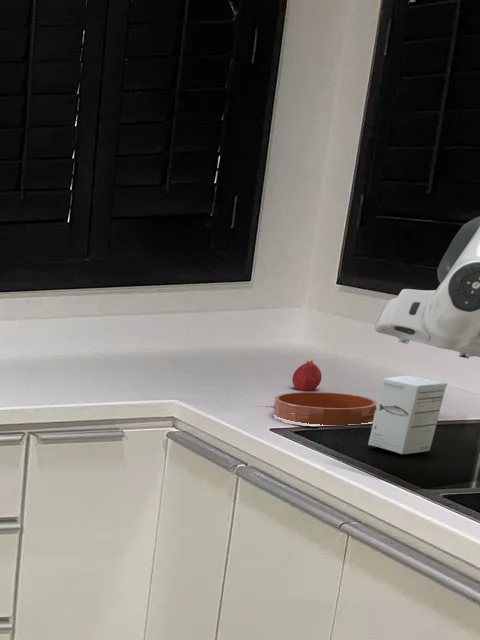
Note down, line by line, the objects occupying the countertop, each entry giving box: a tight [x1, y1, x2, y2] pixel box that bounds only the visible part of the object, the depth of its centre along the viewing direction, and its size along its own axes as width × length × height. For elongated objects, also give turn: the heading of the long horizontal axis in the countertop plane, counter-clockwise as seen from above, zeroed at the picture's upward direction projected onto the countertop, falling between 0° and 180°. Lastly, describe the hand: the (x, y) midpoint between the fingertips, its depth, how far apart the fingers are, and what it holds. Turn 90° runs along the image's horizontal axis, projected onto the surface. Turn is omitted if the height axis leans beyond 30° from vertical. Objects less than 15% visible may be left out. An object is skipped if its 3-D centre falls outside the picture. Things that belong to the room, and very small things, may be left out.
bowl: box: [272, 391, 378, 425], centre depth 239 cm, size 18×18×4 cm
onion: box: [291, 358, 323, 392], centre depth 263 cm, size 6×6×8 cm
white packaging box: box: [367, 374, 448, 455], centre depth 212 cm, size 7×7×13 cm
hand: (434, 346), depth 202 cm, fingers open, 8 cm apart
